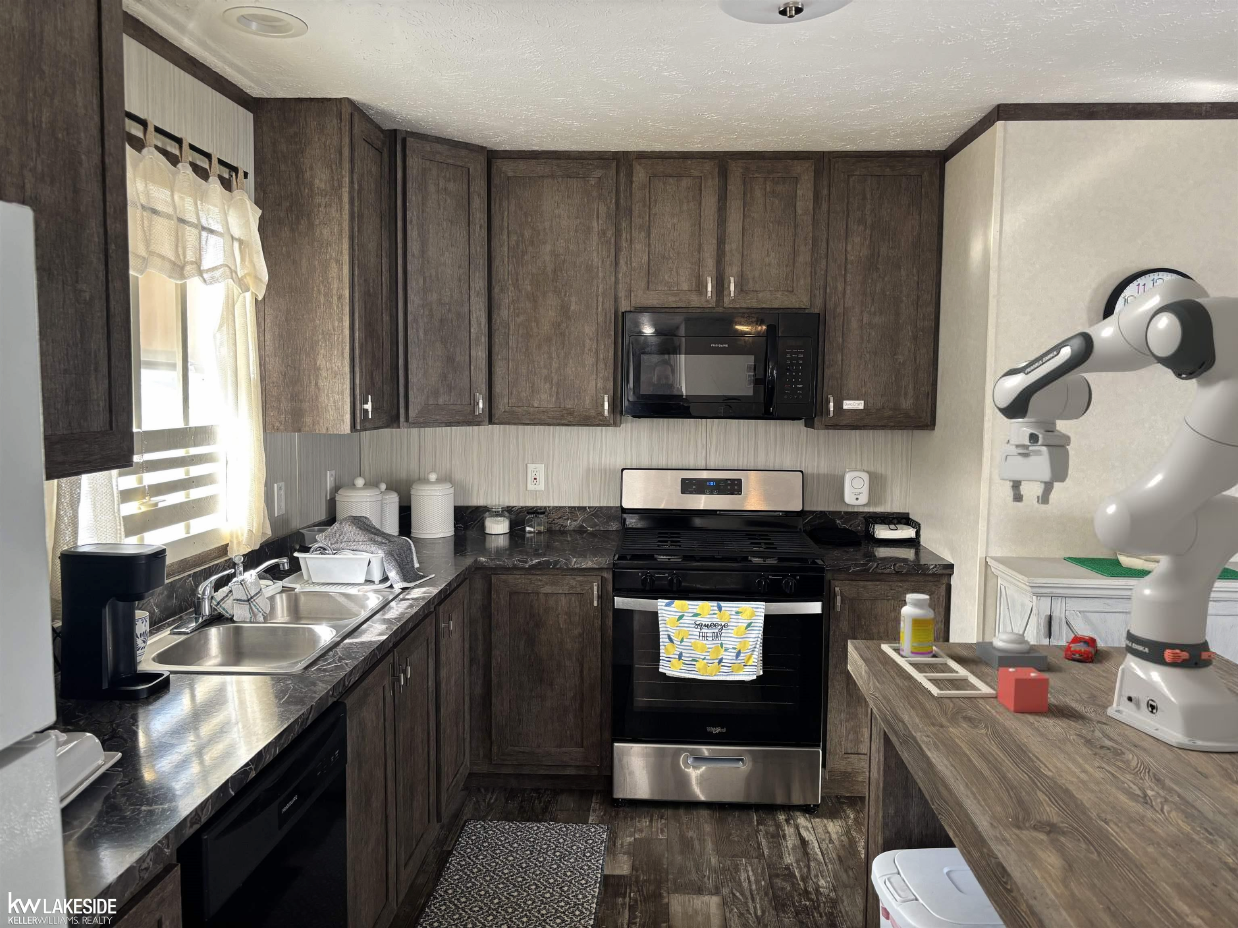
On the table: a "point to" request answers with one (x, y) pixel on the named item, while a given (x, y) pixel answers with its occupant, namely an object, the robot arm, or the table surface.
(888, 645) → the track
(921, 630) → the supplement bottle
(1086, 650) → the race car
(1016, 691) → the die
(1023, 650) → the dome
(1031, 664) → the dome base
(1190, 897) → the table surface
